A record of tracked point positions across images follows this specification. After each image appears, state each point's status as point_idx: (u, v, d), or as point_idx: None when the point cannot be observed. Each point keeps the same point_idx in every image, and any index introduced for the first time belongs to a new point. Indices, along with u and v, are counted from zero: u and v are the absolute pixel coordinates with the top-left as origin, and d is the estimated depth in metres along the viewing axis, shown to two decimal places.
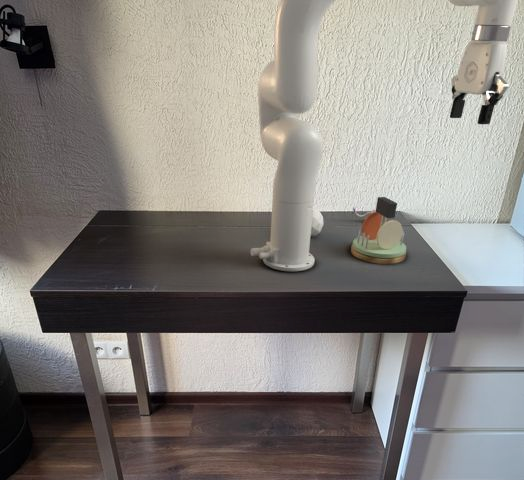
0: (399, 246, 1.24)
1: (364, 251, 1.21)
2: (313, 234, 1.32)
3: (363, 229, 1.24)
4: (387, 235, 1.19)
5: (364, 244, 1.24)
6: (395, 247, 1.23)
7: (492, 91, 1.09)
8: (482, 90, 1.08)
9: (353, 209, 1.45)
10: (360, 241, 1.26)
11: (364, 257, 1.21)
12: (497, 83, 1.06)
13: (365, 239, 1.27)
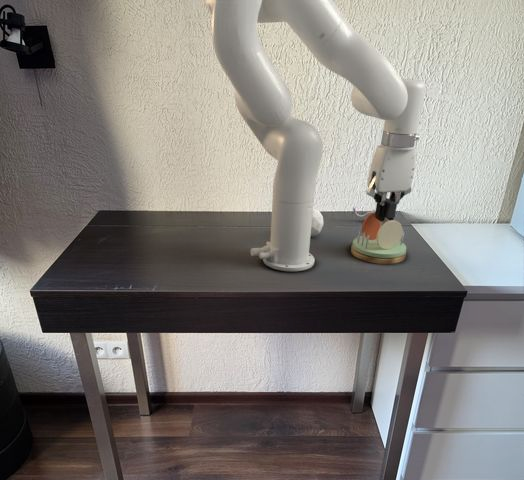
0: (399, 246, 1.24)
1: (364, 251, 1.21)
2: (313, 234, 1.32)
3: (363, 229, 1.24)
4: (387, 235, 1.19)
5: (364, 244, 1.24)
6: (395, 247, 1.23)
7: (374, 188, 1.15)
8: None
9: (353, 209, 1.45)
10: (360, 241, 1.26)
11: (364, 257, 1.21)
12: None
13: (365, 239, 1.27)
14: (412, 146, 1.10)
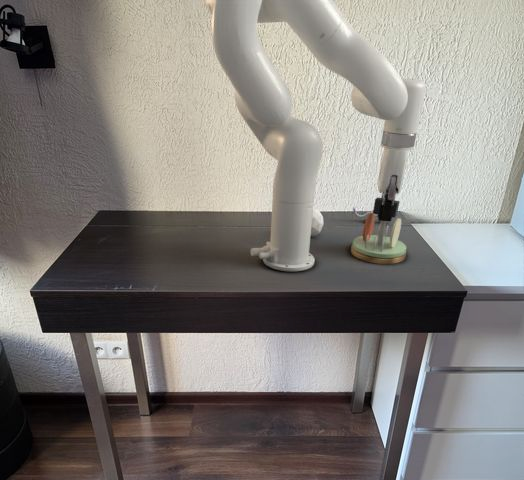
0: None
1: (383, 255, 1.19)
2: (313, 234, 1.32)
3: (365, 233, 1.22)
4: (395, 234, 1.21)
5: (371, 248, 1.22)
6: (394, 243, 1.26)
7: (393, 191, 1.13)
8: (380, 190, 1.13)
9: (353, 209, 1.45)
10: (363, 246, 1.23)
11: (364, 257, 1.21)
12: (388, 190, 1.13)
13: (362, 243, 1.25)
14: None
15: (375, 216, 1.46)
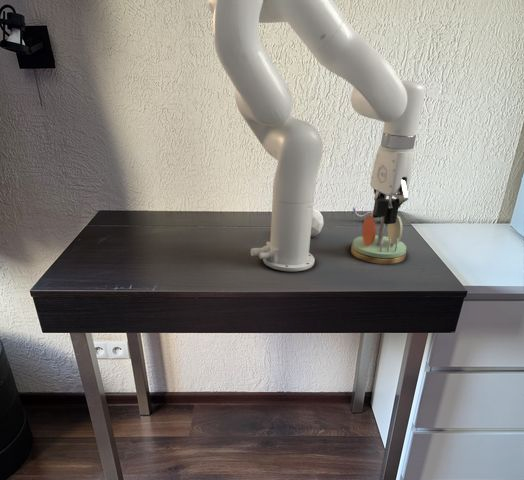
0: (382, 238, 1.29)
1: (399, 253, 1.20)
2: (313, 234, 1.32)
3: (374, 237, 1.20)
4: None
5: (382, 250, 1.21)
6: (386, 240, 1.28)
7: None
8: (391, 193, 1.12)
9: (353, 209, 1.45)
10: (374, 250, 1.21)
11: (364, 257, 1.21)
12: (400, 191, 1.12)
13: (367, 247, 1.23)
14: None
15: None
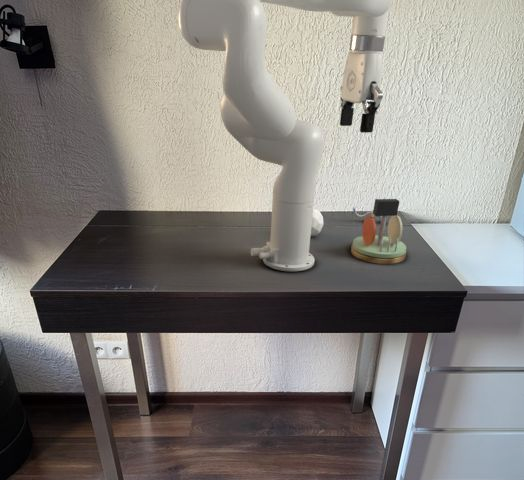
0: (382, 238, 1.29)
1: (399, 253, 1.20)
2: (313, 234, 1.32)
3: (374, 237, 1.20)
4: None
5: (382, 250, 1.21)
6: (386, 240, 1.28)
7: (371, 100, 1.11)
8: (360, 99, 1.09)
9: (353, 209, 1.45)
10: (374, 250, 1.21)
11: (364, 257, 1.21)
12: (373, 92, 1.08)
13: (367, 247, 1.23)
14: None
15: (375, 216, 1.46)
